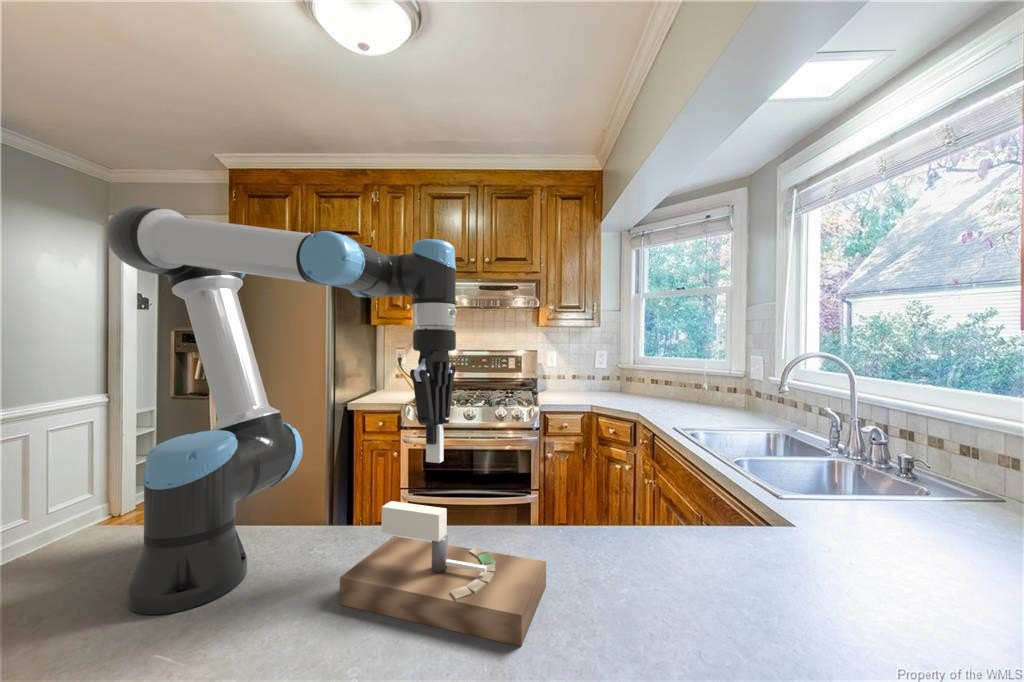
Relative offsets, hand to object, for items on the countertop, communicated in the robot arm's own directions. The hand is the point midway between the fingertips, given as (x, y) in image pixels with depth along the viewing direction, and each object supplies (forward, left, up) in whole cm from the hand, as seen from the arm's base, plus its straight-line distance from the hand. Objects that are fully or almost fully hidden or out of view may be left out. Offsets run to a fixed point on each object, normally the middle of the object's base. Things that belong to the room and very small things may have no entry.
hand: (434, 461), depth 75 cm
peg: (+6, -9, -14) cm, 17 cm away
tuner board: (+7, -9, -18) cm, 21 cm away
